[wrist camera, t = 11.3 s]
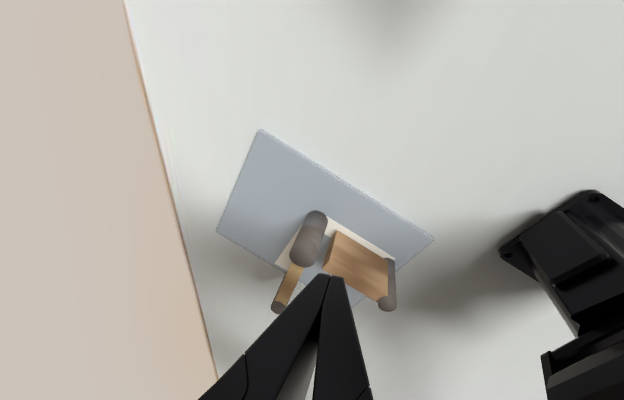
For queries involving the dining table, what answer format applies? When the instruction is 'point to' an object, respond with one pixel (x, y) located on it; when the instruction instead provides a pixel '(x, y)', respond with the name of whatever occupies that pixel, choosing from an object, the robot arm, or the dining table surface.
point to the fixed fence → (346, 261)
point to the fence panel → (286, 288)
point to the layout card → (299, 202)
